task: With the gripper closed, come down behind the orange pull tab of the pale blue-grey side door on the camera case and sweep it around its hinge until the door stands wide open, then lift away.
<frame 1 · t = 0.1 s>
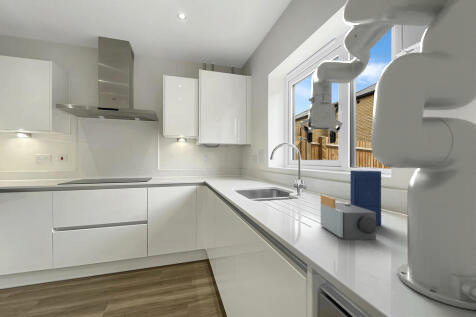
hand: (321, 142, 83), 31 cm above the countertop, tool pointing down, fingers open, 9 cm apart
camera case: (345, 231, 68), on the countertop
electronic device: (365, 223, 77), on the countertop
side door: (330, 214, 67), point 6 cm above the countertop, hinge at 0.0°
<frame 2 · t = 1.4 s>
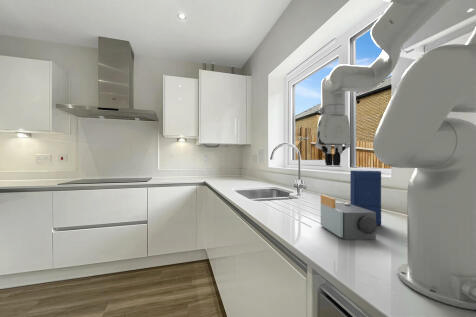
hand: (332, 165, 70), 22 cm above the countertop, tool pointing down, fingers closed
nothing on the countertop moved.
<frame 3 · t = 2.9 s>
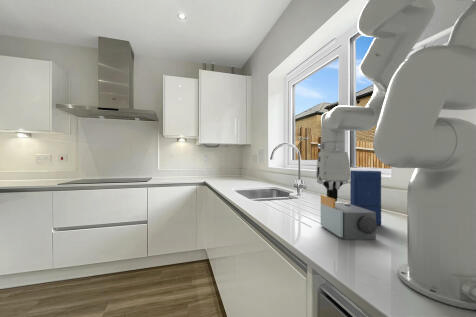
hand: (332, 200, 70), 10 cm above the countertop, tool pointing down, fingers closed
side door: (330, 214, 67), point 6 cm above the countertop, hinge at 0.0°, touching gripper
everything else where it was.
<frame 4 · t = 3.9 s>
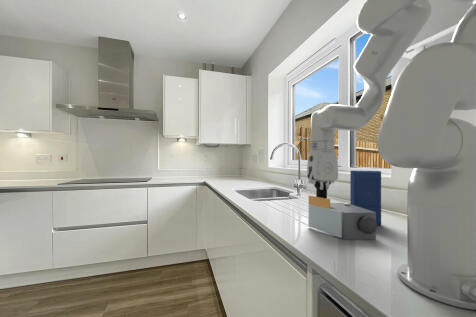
hand: (321, 200, 69), 10 cm above the countertop, tool pointing down, fingers closed
side door: (324, 214, 66), point 6 cm above the countertop, hinge at 24.6°, touching gripper
everything else where it was.
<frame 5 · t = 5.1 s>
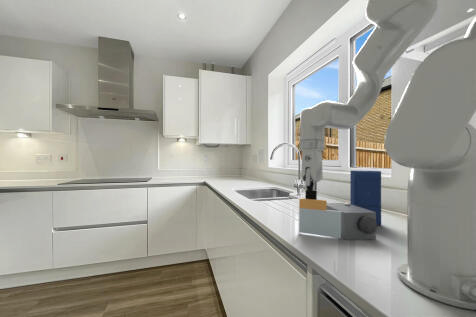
hand: (310, 202, 66), 10 cm above the countertop, tool pointing down, fingers closed
side door: (319, 217, 63), point 6 cm above the countertop, hinge at 62.3°, touching gripper
everything else where it was.
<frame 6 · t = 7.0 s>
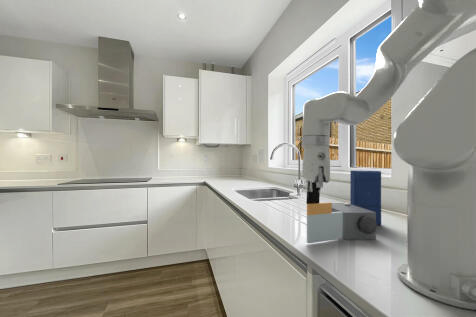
hand: (312, 204, 59), 10 cm above the countertop, tool pointing down, fingers closed
side door: (325, 221, 58), point 6 cm above the countertop, hinge at 103.3°, touching gripper
everything else where it was.
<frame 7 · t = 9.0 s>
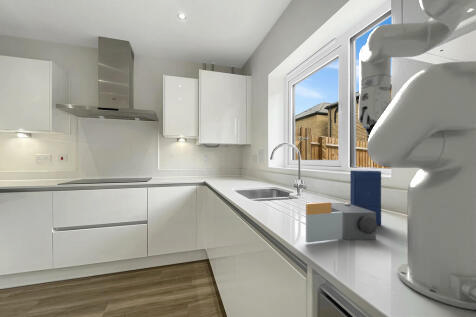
hand: (374, 148, 59), 27 cm above the countertop, tool pointing down, fingers closed
side door: (324, 221, 58), point 6 cm above the countertop, hinge at 101.3°
everything else where it was.
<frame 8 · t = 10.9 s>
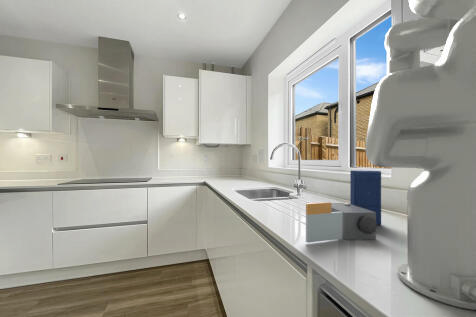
hand: (402, 142, 59), 29 cm above the countertop, tool pointing down, fingers closed
nothing on the countertop moved.
at the end: side door at +101° (first picture: +0°) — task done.
